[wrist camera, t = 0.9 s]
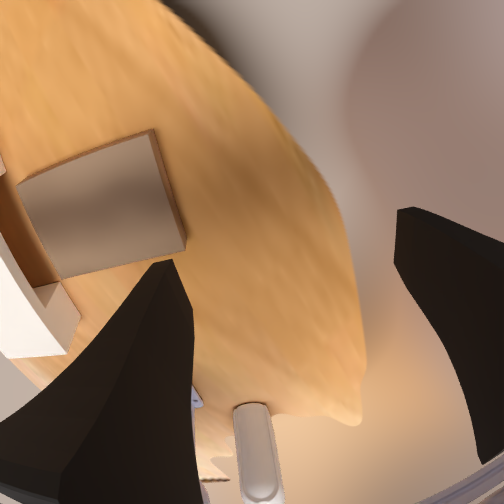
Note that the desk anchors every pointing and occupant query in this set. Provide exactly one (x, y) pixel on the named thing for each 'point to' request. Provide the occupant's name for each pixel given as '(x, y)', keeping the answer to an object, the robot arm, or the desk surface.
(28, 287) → the white shelf
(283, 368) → the desk surface
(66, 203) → the walnut panel
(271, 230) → the desk surface
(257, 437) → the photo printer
